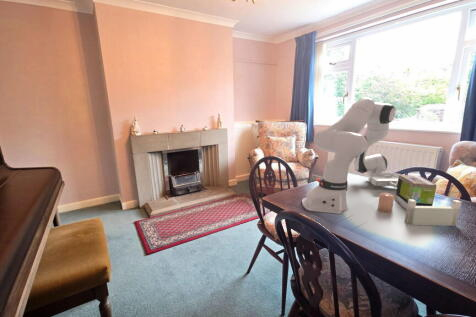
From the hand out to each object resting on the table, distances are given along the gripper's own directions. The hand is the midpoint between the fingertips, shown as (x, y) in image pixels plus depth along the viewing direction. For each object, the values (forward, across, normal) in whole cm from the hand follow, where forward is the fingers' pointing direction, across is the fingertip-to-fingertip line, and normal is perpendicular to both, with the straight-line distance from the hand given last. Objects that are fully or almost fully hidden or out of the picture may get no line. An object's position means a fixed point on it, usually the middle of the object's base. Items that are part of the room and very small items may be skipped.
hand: (397, 186), depth 128 cm
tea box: (+13, 0, +6) cm, 14 cm away
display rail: (+31, -4, +6) cm, 32 cm away
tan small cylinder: (+18, -16, +6) cm, 25 cm away
